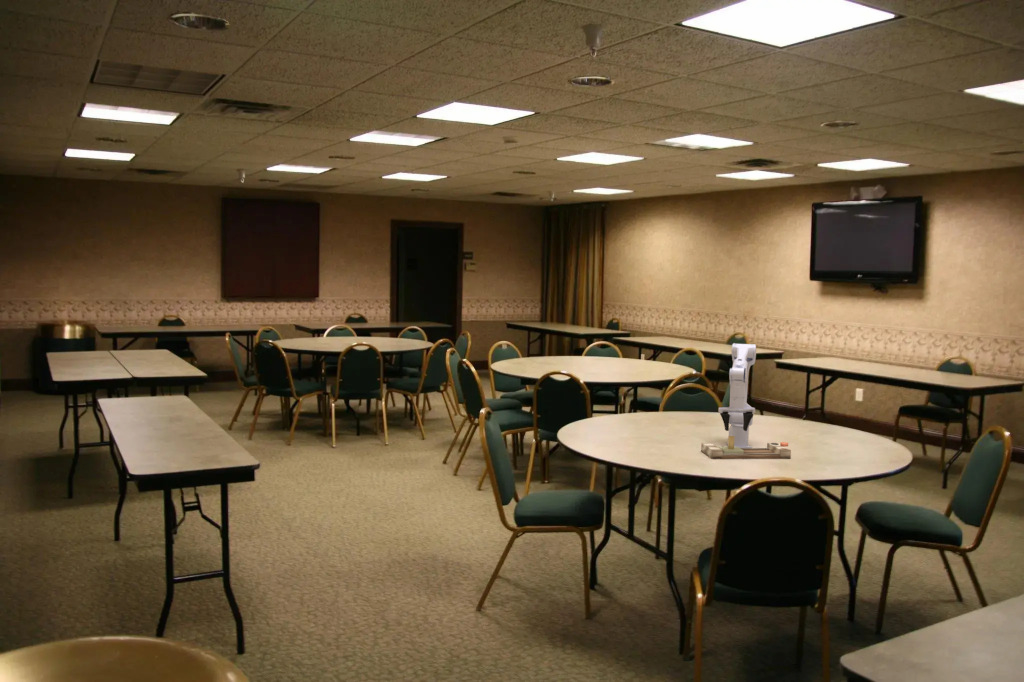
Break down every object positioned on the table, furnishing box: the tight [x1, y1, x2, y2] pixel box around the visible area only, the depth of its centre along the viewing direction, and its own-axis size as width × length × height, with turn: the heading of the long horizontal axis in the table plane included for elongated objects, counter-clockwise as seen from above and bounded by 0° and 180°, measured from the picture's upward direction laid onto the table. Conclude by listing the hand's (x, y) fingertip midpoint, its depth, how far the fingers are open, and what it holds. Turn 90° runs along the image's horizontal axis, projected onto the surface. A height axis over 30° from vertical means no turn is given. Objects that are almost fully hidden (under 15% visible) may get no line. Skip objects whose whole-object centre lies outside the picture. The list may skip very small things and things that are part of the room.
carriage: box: [717, 435, 744, 454], centre depth 321 cm, size 7×8×6 cm
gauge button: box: [779, 441, 789, 448], centre depth 318 cm, size 3×3×1 cm
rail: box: [700, 442, 792, 460], centre depth 322 cm, size 14×32×4 cm, turn 95°
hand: (735, 430), depth 319 cm, fingers open, 7 cm apart
